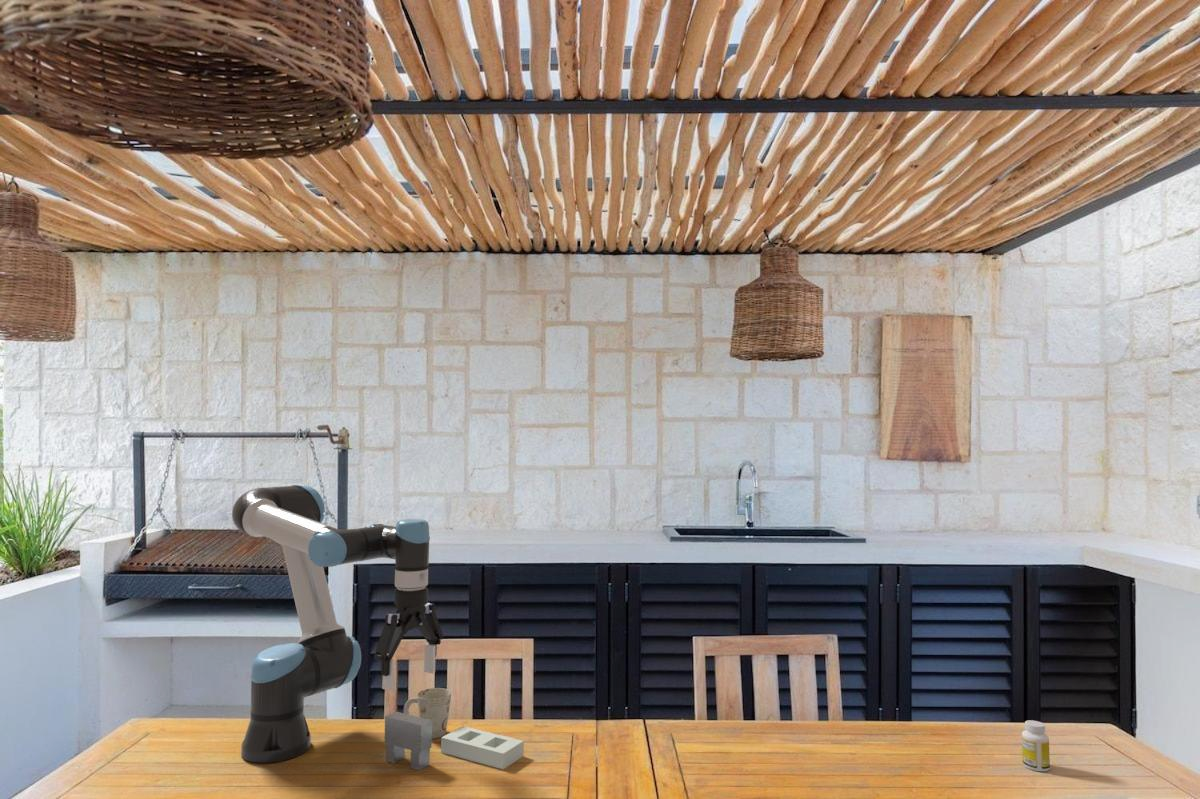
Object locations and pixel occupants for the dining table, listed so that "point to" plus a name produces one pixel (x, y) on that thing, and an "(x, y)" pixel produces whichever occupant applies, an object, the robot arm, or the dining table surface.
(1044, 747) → the supplement bottle
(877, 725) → the dining table surface
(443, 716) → the mug
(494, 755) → the block
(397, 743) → the clip
